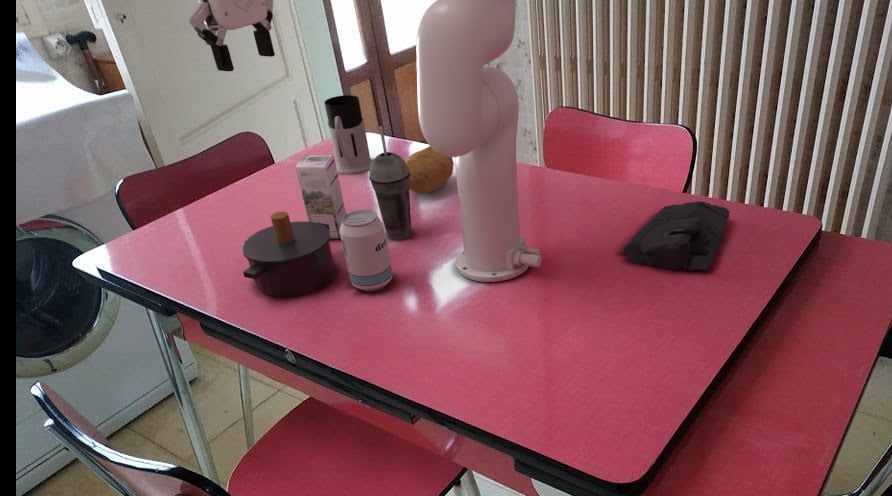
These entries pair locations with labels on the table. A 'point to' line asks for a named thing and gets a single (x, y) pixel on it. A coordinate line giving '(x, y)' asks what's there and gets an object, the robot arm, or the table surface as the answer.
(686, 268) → the black folded cloth
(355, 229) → the beverage can
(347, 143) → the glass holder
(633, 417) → the table surface
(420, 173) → the potato
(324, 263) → the pan
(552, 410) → the table surface
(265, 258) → the lid
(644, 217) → the table surface
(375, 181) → the beverage cup
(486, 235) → the robot arm
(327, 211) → the syrup box
